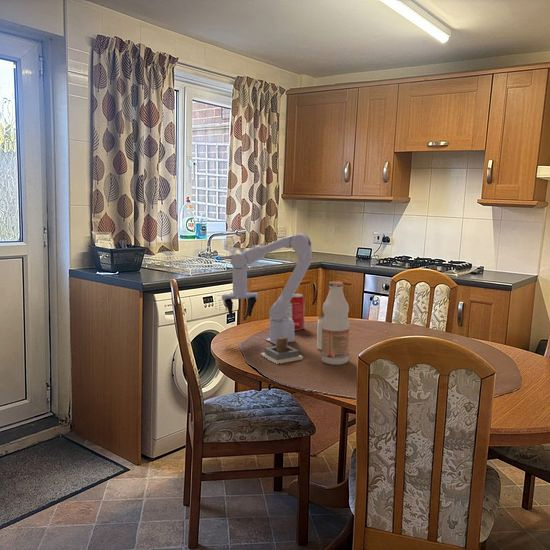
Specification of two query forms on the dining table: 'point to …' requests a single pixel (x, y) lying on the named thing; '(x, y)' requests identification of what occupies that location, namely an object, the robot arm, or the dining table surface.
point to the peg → (281, 344)
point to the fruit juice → (335, 326)
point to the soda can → (297, 311)
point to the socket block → (281, 355)
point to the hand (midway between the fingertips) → (240, 316)
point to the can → (319, 333)
